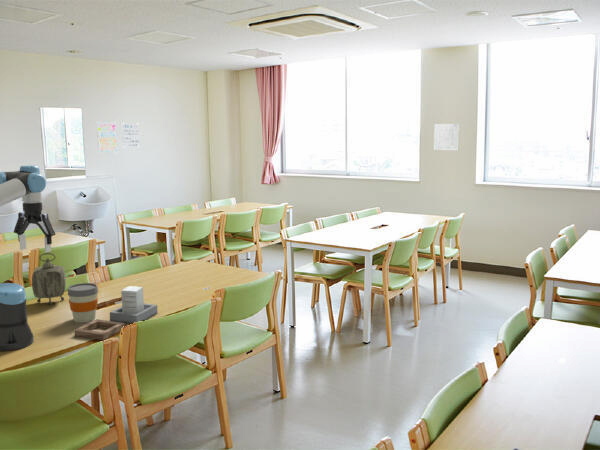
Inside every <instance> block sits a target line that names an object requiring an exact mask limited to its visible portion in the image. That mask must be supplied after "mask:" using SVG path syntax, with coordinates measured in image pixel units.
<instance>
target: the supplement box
mask: <svg viewBox="0 0 600 450" xmlns="http://www.w3.org/2000/svg"><path fill="white" fill-rule="evenodd" d="M120 293H121V307H122V313H130V314H137V313H139V312H141V311H143V310H144V303H145V301H144V300H145V299H144V287H143V286H136V285H135V286H131V285H129V286H126V287H125V288H123V289H121V291H120Z"/></svg>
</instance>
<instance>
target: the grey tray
mask: <svg viewBox="0 0 600 450" xmlns="http://www.w3.org/2000/svg"><path fill="white" fill-rule="evenodd" d="M157 314H158V304H152V303H145V302H144V310H143V311H141V312H139V313H137V314H130V313H122V306H120V307H117V308H115V309H113V310H112V311H109V321H113V322H120V323H124V324H131V323H134V322H138V321H142V320H145V321H146V320H149V319H150V318H152V317H154V316H155V315H157ZM153 315H154V316H153ZM131 325H132V324H131Z"/></svg>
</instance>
